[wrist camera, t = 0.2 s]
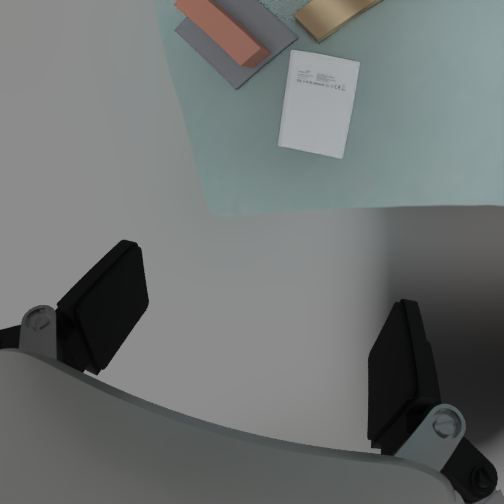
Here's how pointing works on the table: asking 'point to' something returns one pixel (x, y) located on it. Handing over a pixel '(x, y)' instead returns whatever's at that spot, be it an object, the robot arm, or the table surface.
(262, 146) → the table surface
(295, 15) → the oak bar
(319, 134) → the external hard drive
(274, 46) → the fulcrum board
